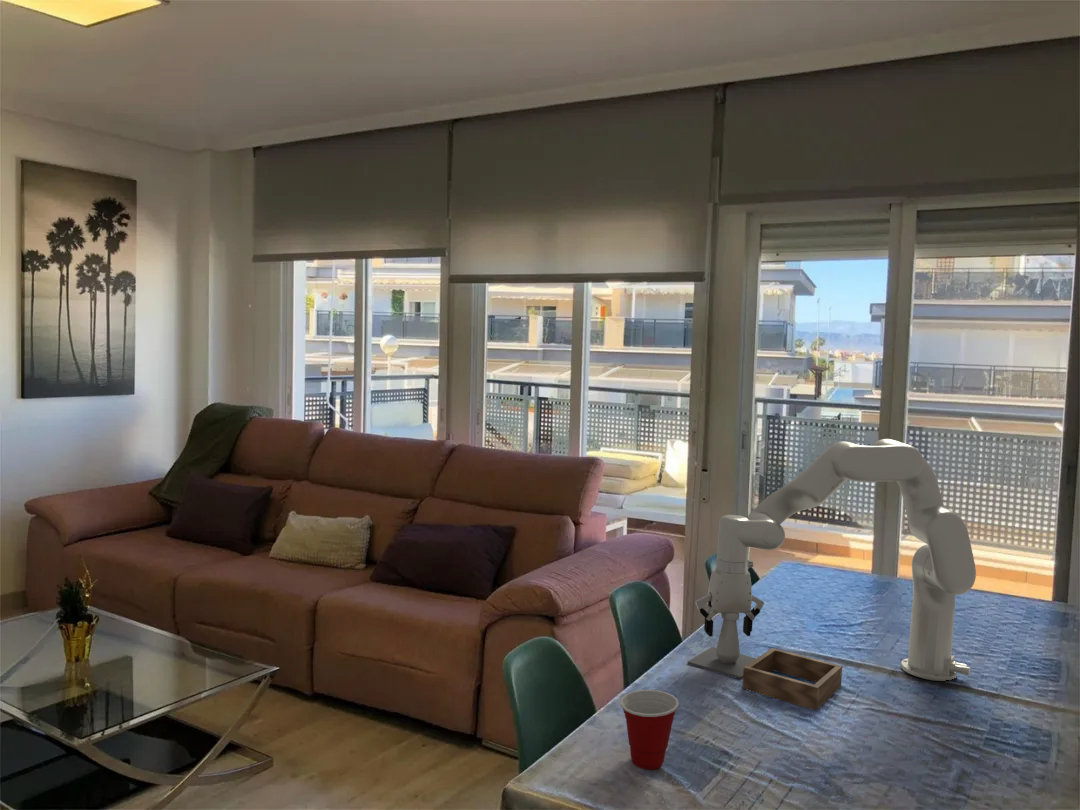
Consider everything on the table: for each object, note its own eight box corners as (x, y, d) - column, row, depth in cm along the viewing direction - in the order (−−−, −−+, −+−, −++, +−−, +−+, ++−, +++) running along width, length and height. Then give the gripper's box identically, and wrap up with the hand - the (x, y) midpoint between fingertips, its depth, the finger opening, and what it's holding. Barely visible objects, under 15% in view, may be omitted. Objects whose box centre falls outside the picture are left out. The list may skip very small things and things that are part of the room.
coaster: (764, 662, 212) (764, 660, 212) (741, 679, 201) (741, 676, 200) (712, 648, 220) (712, 646, 220) (687, 663, 209) (687, 661, 209)
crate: (840, 686, 198) (842, 666, 198) (816, 710, 185) (817, 688, 185) (770, 667, 209) (772, 647, 208) (742, 688, 195) (743, 667, 195)
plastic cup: (612, 748, 164) (615, 687, 163) (667, 748, 165) (671, 687, 164) (622, 777, 153) (625, 712, 152) (681, 777, 154) (685, 712, 153)
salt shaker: (739, 666, 207) (742, 614, 206) (715, 663, 208) (718, 611, 207) (738, 658, 213) (742, 607, 212) (715, 655, 214) (718, 604, 213)
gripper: (759, 562, 213) (755, 629, 215) (693, 562, 211) (689, 629, 212) (771, 570, 206) (767, 639, 207) (702, 570, 204) (698, 640, 205)
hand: (727, 634), depth 210 cm, fingers open, 9 cm apart
